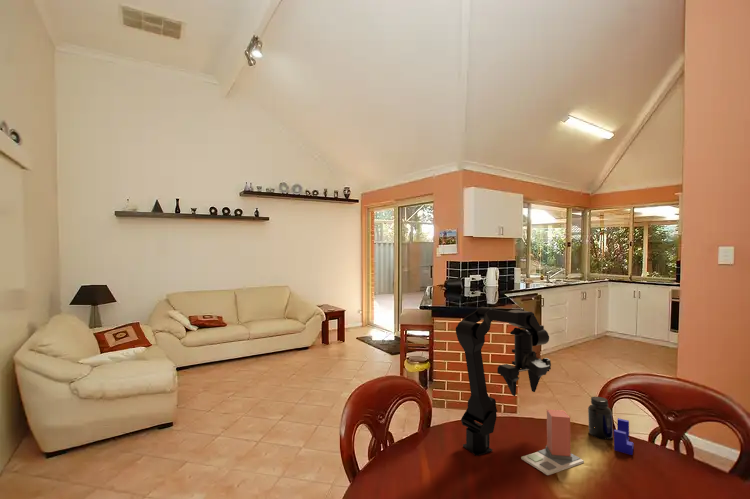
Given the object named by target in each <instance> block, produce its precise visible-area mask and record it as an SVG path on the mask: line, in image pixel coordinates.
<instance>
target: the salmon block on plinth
mask: <svg viewBox="0 0 750 499" xmlns="http://www.w3.org/2000/svg"><path fill="white" fill-rule="evenodd" d="M545 449H546V450H547V452H548V454H549V455H550V457H551V459H561V460H571V461H572V456H571V454H572V452H571V417H570V416H569V415H568V413H567V412H566V411H565V410H561V409H560V410H559V409H558V410H557V409H546V445H545Z"/></svg>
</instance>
